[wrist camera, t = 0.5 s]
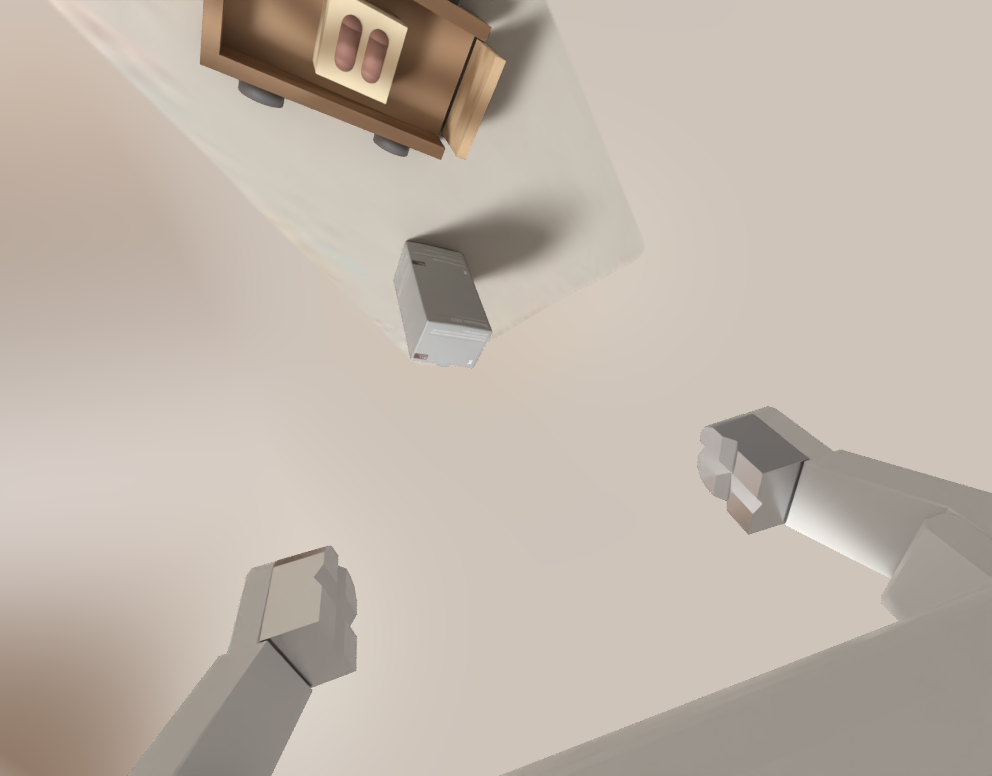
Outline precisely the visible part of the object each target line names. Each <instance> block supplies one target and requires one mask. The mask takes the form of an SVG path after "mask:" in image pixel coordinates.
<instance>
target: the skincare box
mask: <svg viewBox="0 0 992 776" xmlns="http://www.w3.org/2000/svg"><path fill="white" fill-rule="evenodd" d="M394 285H395V290H396V294H397V299H398V303H399V308H400V312H401V317H402V322H403V326H404V330H405V335H406V340H407V345H408V349H409V354H410V360H411V361H416V362H425V363H434V364H437V365H438V366H442V367H446V366H460V367H469V368H473V367H474V366H475V364H476V362H477V360H478V358H479V356H480V354H481V352H482V350H483V348H484V347H485V345H486V343H487V341H488V340H489V338H490V336H491V334H492V329H491V327H490V324H489V322H488V319H487V316H486V314H485V311H484V308H483V306H482V303H481V301H480V298H479V295H478V293H477V290H476V287H475V285H474V282H473V279H472V277H471V274H470V271H469V269H468V266H467V263H466V261H465V258H464V256H463V254H462V253H459V252H454V251H450V250H446V249H442V248H438V247H434V246H429V245H425V244H420V243H414V242H409V241H408V242H407V241H406V242H405V245H404V248H403V251H402V255H401V258H400V261H399V264H398V267H397V270H396V273H395V277H394Z"/></svg>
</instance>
